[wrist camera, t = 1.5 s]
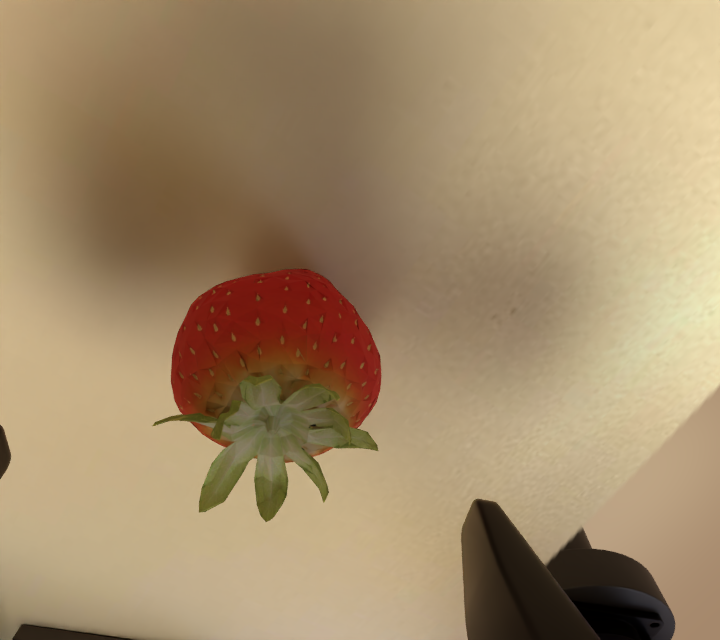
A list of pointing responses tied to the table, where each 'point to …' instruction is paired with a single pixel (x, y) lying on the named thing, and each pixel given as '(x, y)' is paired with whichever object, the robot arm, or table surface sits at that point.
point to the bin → (54, 634)
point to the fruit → (274, 379)
